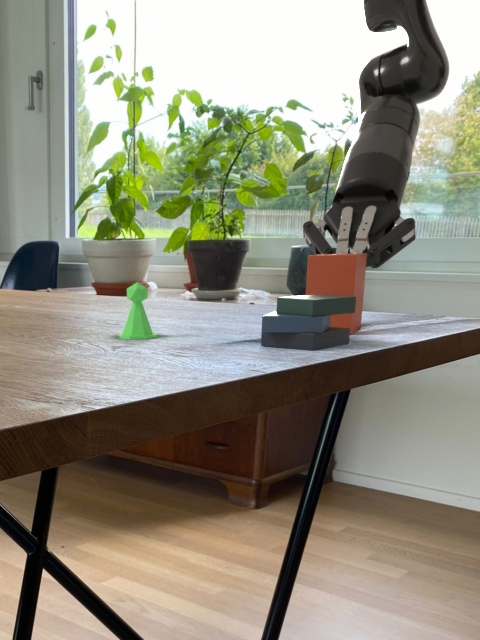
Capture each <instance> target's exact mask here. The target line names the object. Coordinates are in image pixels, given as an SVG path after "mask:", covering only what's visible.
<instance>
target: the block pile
mask: <svg viewBox="0 0 480 640" xmlns="http://www.w3.org/2000/svg"><path fill="white" fill-rule="evenodd" d="M355 307H356V296H340V295H324V294H314V295H306V294H302V295H301V294H300V295H289V296H277V297H276V310H273V311H272V312H271V311H270V312H269V313H267V314H265V315H262V316H261V333H260V334H261V337H260V346H261V347H268V348H269V347H270V348H282V349H292V350H303V351H318V350H323V349H328V348H333V347H334V348H335V347H340V346H345V345H349V344H350V338H351V337H350V328H339V327H330V326H331V315H336V314H348V313H355Z"/></svg>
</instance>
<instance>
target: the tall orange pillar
mask: <svg viewBox="0 0 480 640" xmlns="http://www.w3.org/2000/svg"><path fill="white" fill-rule="evenodd" d="M366 260H367V253H352V254H317V255H315V254H310V255H307V267H306V282H305V283H306V285H305V295H314V294H324V295H340V296H356V307H355V313H348V314H336V315H331V326H330V327H339V328H350V335H353V334H355V333H357V332H360V331H361V329H362V317H363V305H364V296H365V285H366V284H365V282H366V272H367V271H366V270H367V267H366Z"/></svg>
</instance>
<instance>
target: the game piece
mask: <svg viewBox="0 0 480 640" xmlns="http://www.w3.org/2000/svg"><path fill="white" fill-rule="evenodd" d="M148 298H149V297H148V287H146V286H145V285H143V284H141V283H139V282H138V281H136V282H135V283H134V284H131V285H130V286H129V287H126V299H128V300H129V301H131V302H132V305H131V307H130V310H129V312H128V316H127V318H126V322H125V325H124V328H123V331H122V333H118V339H120V340H151V339H156V338H157V339H158V333H157V332H153V329H152V327H151V324H150V321H149V318H148V316H147V312H146V310H145V307H144V305H143V302H144V301H145V300H147V299H148Z"/></svg>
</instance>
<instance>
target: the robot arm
mask: <svg viewBox="0 0 480 640" xmlns="http://www.w3.org/2000/svg"><path fill="white" fill-rule="evenodd" d="M361 1H362V2H361V4H362V13H363V20H364V24H365V27H366V29H367V31H368V32H369V33H371V34H376V35H383V34H389V33H394V32H398V31H404V33H405V35H406V38H407V43H405V44H402V45H400V46H398V47H395V48H393V49H390V50H388V51H386V52H384V53H382V54H379V55H377V56H374V57H373V58H371V59H370V60H368V61H367V63H365V64H364V65H363V68H361V70H360V72H359V73H358V76H357V81H356V89H357V98H358V123H357V127H356V130H355V133H354V138H353V140H352V143H351V146H350V147H349V149H348V151H347V154H346V155H345V160H344V163H343V166H342V170H341V173H340V176H339V178H338V182H337V186H336V188H335V192H334V196H333V199H332V202H331V206H330V207H329V208H328V209H327V211H326V212H325V213H324V216H323V219H321V220H320V221H317V222H316V223H314V222H313V221H310V220H309V221H306V222H304V223H303V224H302V229H303V234H304V240H305V243H306V245H307V246H308V248H309V249H310V250H311V252H312V253H313V255H317V254H352V253H367V260H366V268H369V267H370V268H371V269H378V268H380V267H381V266H382V265H384V264H385V263H387V262H388V261H389V260H390V259H392V258H393V257H395V256H396V255H397V254H399V253H400V252H401V251H402V250H404V249H405V248H406V247H407V246H409V245H410V244H411V243H413V242H414V241H415V240H416V237H417V234H416V233H417V232H416V231H417V230H416V220H415V218H413V217H407V218H404V217H402V216H401V215H402V214H401V213H402V211H401V209H400V208H401V205H402V201H403V197H404V193H405V190H406V185H407V183H408V181H409V178H410V175H411V174H410V173H411V166H412V160H413V151H414V147H415V144H416V139H417V137H418V133H419V130H420V129H419V128H420V125H421V124H420V123H421V114H420V109H419V106H418V105H420V104H423V103H426V102H428V101H430V100H433V99H435V98H437V97H438V96H440V94H441V93H442V92H443V90H444V89H445V87H446V85H447V82H448V79H449V75H450V62H449V58H448V55H447V52H446V49H445V47H444V45H443V43H442V41H441V38H440V36H439V34H438V32H437V30H436V29H437V28H436V27H435V24H434V22H433V19H432V16H431V13H430V10H429V6H428V3H427V0H361ZM326 232H328V233H329V235H330V236H331V238H332V239H333V241H334V242H335V243H336V249H333V247H332V246H331V244H330V243H329V242H328V241H327V239H326Z"/></svg>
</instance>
